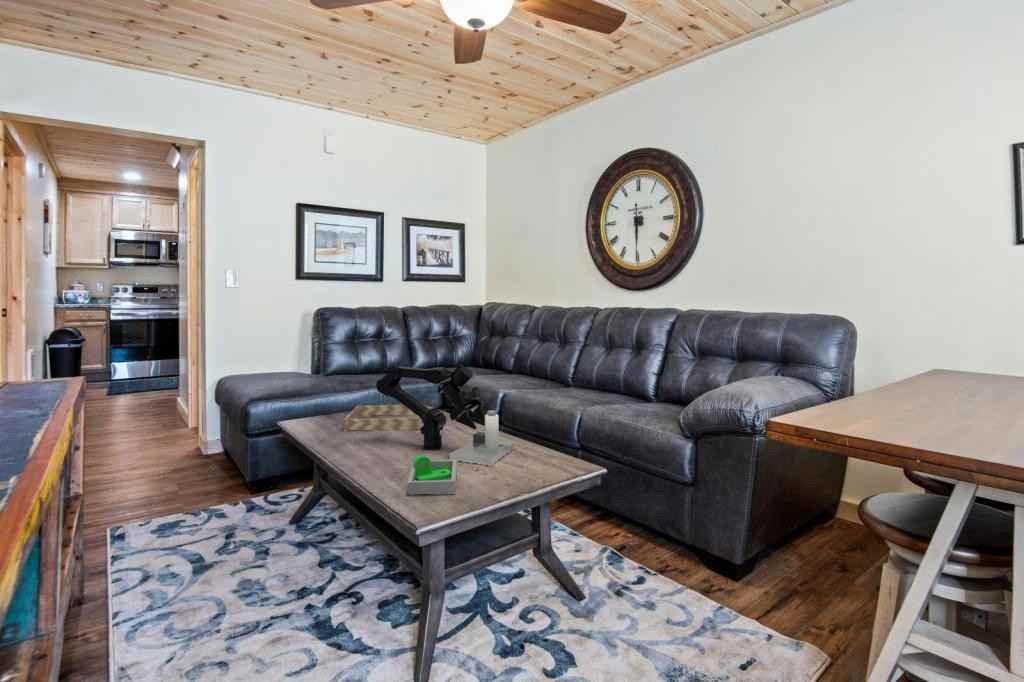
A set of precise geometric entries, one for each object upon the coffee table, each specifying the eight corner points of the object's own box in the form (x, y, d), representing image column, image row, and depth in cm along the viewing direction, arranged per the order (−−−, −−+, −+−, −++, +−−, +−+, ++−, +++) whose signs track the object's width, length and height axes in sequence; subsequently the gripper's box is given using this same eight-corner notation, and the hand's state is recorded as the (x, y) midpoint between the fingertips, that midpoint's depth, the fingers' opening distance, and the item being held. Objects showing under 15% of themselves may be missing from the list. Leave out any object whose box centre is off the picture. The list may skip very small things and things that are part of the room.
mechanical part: (419, 486, 170) (419, 461, 169) (413, 480, 175) (413, 456, 174) (454, 479, 176) (454, 455, 175) (446, 473, 181) (446, 451, 181)
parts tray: (407, 495, 161) (407, 482, 161) (414, 472, 182) (414, 460, 181) (455, 493, 163) (455, 481, 162) (456, 471, 183) (456, 459, 182)
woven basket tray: (343, 431, 233) (343, 420, 232) (357, 415, 261) (356, 405, 260) (418, 429, 235) (418, 418, 235) (423, 414, 264) (423, 404, 263)
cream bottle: (485, 451, 197) (485, 412, 195) (485, 447, 202) (484, 409, 200) (498, 450, 197) (498, 412, 196) (498, 446, 202) (498, 409, 201)
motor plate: (449, 460, 194) (449, 445, 194) (476, 444, 214) (476, 430, 214) (490, 466, 188) (490, 451, 187) (514, 448, 208) (514, 435, 208)
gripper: (456, 385, 192) (484, 417, 189) (479, 377, 209) (504, 407, 206) (437, 404, 196) (464, 437, 193) (461, 395, 213) (486, 424, 210)
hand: (481, 425), depth 200 cm, fingers open, 9 cm apart
